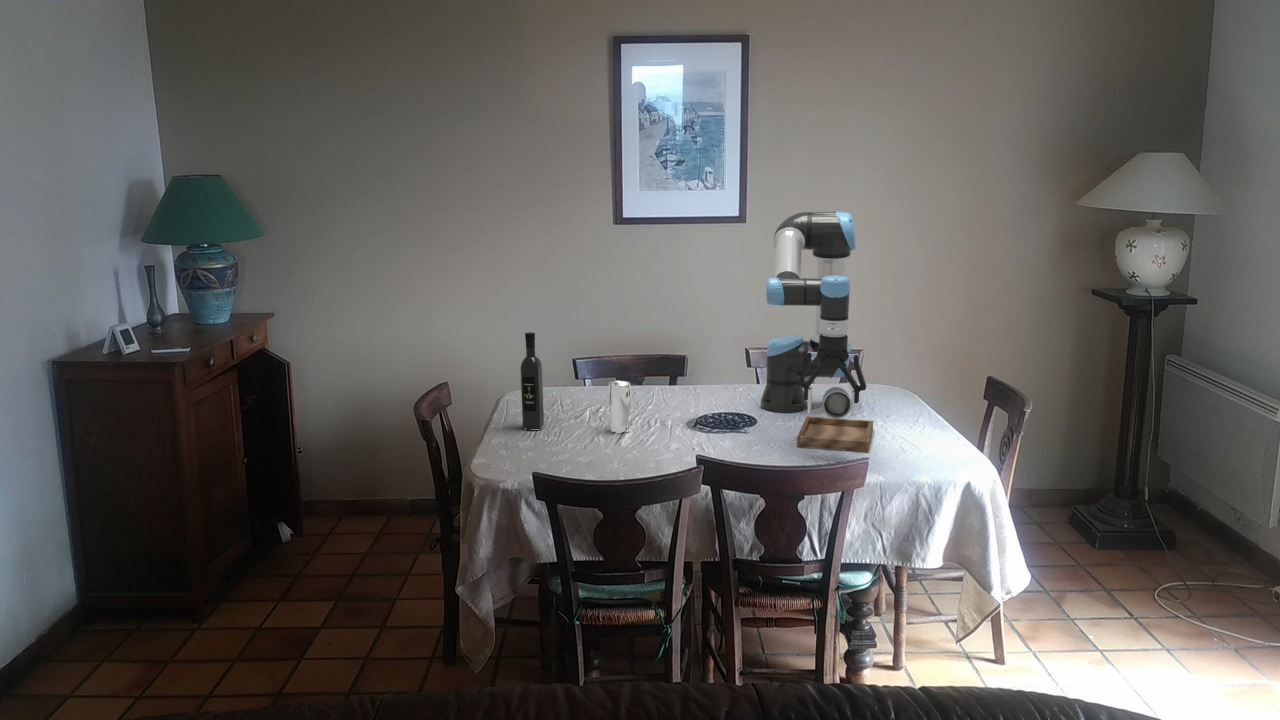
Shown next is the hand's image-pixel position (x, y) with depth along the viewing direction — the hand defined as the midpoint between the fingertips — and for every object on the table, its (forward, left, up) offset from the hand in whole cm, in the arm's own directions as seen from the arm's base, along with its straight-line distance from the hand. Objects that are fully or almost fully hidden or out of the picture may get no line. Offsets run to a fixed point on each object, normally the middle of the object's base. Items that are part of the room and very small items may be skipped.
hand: (830, 412), depth 256 cm
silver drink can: (-64, +10, -13) cm, 66 cm away
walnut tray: (0, +19, -13) cm, 23 cm away
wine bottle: (-91, +6, -13) cm, 92 cm away
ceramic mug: (0, 0, -1) cm, 1 cm away
